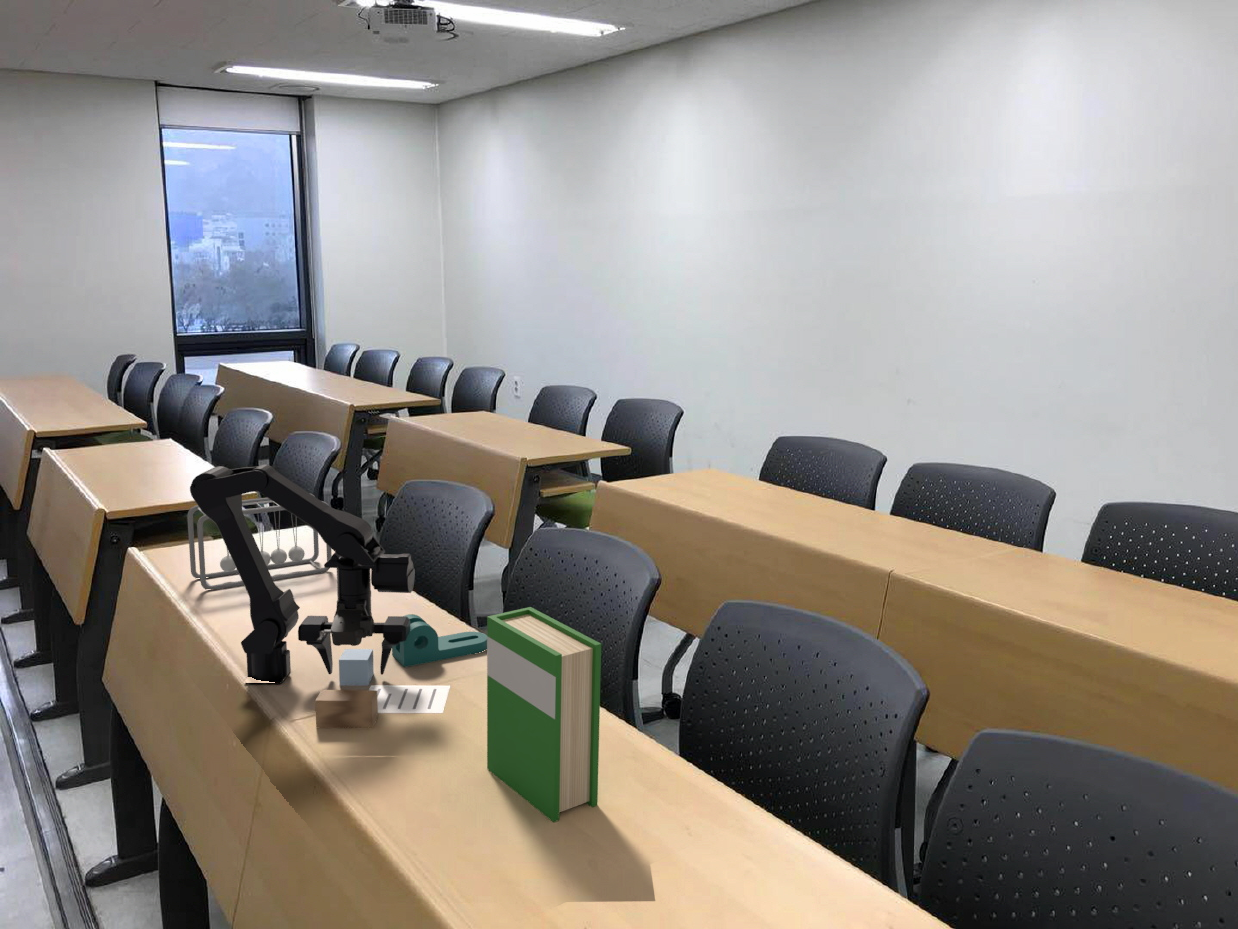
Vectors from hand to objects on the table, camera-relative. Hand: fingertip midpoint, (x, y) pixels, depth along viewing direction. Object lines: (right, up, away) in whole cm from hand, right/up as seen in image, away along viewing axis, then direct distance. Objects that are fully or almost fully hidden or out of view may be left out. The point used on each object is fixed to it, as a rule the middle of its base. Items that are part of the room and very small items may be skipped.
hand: (356, 673), depth 176 cm
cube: (0, -1, 0) cm, 1 cm away
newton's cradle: (-37, +11, +57) cm, 69 cm away
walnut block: (+3, -5, -16) cm, 17 cm away
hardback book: (+36, -9, -34) cm, 50 cm away
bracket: (+13, +1, +14) cm, 19 cm away
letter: (+10, -3, -7) cm, 13 cm away
